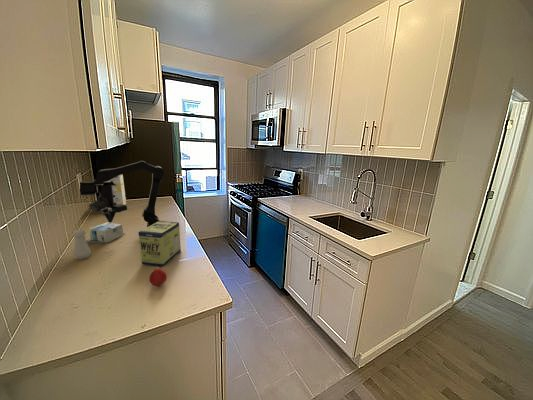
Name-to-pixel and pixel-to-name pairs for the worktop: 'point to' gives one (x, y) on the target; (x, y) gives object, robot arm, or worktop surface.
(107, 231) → the light bulb box
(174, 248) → the protein box
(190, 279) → the worktop surface
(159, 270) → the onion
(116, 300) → the worktop surface
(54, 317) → the worktop surface
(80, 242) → the salt shaker
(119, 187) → the pasta box
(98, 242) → the mat
